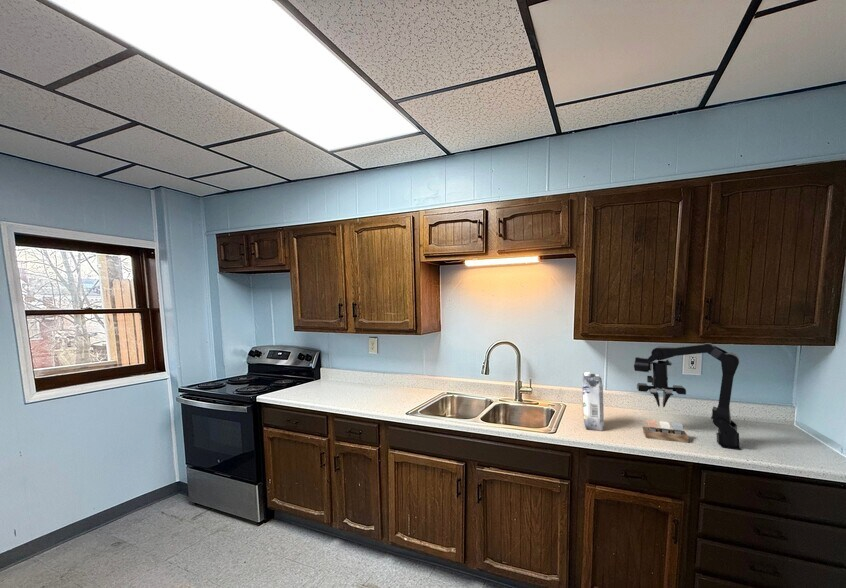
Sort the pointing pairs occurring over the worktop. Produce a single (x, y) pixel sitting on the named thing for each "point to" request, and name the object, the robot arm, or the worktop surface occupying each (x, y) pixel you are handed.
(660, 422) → the key ivory
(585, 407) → the juice carton
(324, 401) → the worktop surface
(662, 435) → the key panel
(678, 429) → the key slate
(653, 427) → the key terracotta
